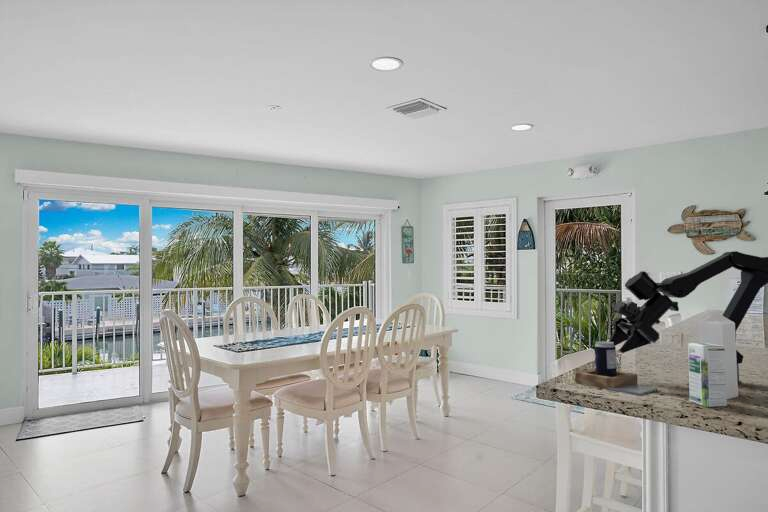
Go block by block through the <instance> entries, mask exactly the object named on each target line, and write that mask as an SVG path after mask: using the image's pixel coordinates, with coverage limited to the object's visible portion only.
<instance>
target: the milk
mask: <svg viewBox="0 0 768 512" xmlns="http://www.w3.org/2000/svg"><path fill="white" fill-rule="evenodd" d="M708 313H709V316H708V317H706V318H705V319H702V320H700V321H698V324H697V325H698V343H709V344H715V345H720V346H725V364H726V392H727V400H729V399H734V398H737V397H739V384H738V381H737V359H736V350H737V345H736V343H737V336H736V337H735V323H734V322H733V321H731V320H729V319H727V318H726V317H724V316H723V310H722V309H719V310H718V309H717V310H710V311H709V312H708Z"/></svg>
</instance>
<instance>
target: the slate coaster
mask: <svg viewBox="0 0 768 512" xmlns="http://www.w3.org/2000/svg"><path fill="white" fill-rule="evenodd" d="M607 390H609V391H614V392H620V393H624V394H630V395H634V394H635V396H639V395H640V396H643V395H646V393H647V394H650V392H651V393H654V392H653V391H655V392H657V391H656V390H658V388H657V387H651V386H650V387H649V386H647V385H646V386H645V385H641V384H640V385H639V384H637V385H634V384H628V385H624V386H620V387H616V388H611V387H608V389H607ZM642 394H643V395H642Z"/></svg>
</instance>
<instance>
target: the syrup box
mask: <svg viewBox="0 0 768 512" xmlns="http://www.w3.org/2000/svg"><path fill="white" fill-rule="evenodd" d="M687 345H688V346H687V350H688V351H687V352H688V353H687V354H688V380H689V381H688V383H689V386H688V387H689V402H690V403H694V404H697V405H700V406H702V407H704V408H711V407H715V408H716V407H717V408H718V407H727V406H728V402H727V401H728V399H727V392H726V364H725V346H720V345H715V344H709V343H699V342H689V343H688V344H687Z"/></svg>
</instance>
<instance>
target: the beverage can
mask: <svg viewBox="0 0 768 512" xmlns="http://www.w3.org/2000/svg"><path fill="white" fill-rule="evenodd" d="M594 369H595V375H601V376H607V377H614V376H617V373H616V371H617V350H616V346H615V345H614V342H609V340H607V341H606V340H605V341H604V340H603V341H602V340H599V341H595V345H594Z"/></svg>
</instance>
